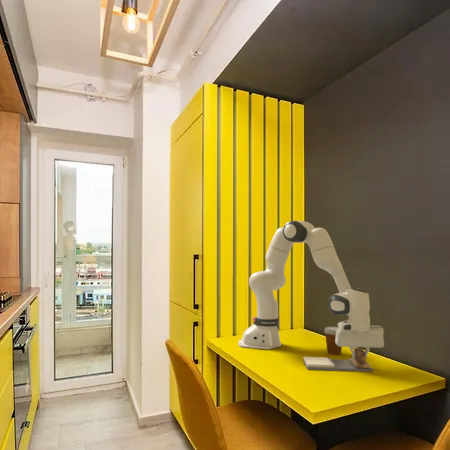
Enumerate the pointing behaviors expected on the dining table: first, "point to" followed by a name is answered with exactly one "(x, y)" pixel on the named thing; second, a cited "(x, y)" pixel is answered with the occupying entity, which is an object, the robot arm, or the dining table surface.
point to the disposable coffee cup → (332, 341)
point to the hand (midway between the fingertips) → (359, 357)
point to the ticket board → (331, 364)
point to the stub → (360, 359)
